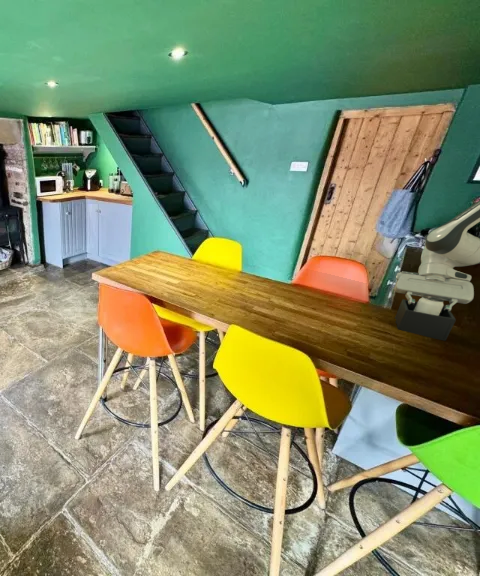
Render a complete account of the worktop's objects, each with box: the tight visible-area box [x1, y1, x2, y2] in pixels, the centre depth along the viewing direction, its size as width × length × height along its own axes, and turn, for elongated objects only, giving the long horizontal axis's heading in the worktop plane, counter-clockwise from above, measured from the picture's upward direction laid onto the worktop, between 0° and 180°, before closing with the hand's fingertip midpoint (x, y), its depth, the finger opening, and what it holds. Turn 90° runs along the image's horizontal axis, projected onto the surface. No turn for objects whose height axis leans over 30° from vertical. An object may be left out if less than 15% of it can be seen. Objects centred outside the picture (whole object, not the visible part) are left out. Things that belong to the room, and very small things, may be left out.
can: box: [414, 296, 445, 316], centre depth 113 cm, size 6×6×12 cm
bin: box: [394, 299, 457, 342], centre depth 114 cm, size 13×13×9 cm
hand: (428, 307), depth 112 cm, fingers open, 8 cm apart
